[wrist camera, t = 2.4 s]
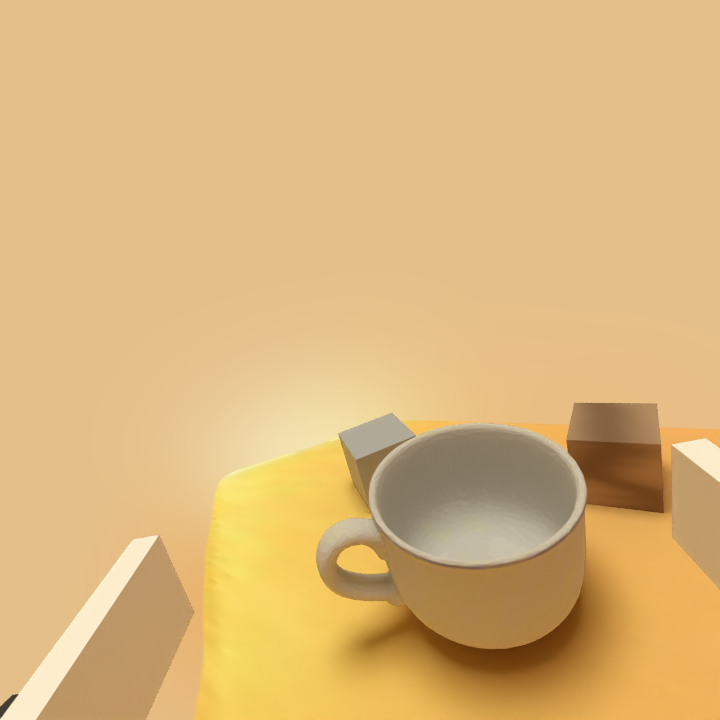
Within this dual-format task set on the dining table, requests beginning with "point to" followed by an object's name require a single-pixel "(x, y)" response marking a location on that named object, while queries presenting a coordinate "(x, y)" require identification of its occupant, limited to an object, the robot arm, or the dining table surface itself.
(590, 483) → the walnut block
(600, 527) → the dining table surface
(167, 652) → the robot arm
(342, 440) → the slate block
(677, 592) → the dining table surface
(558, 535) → the teacup
